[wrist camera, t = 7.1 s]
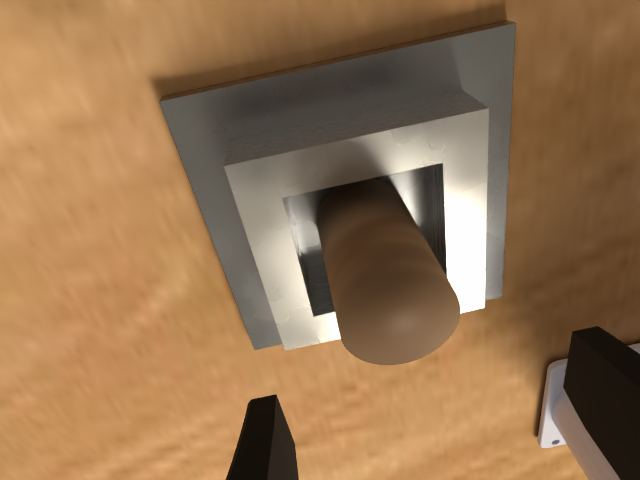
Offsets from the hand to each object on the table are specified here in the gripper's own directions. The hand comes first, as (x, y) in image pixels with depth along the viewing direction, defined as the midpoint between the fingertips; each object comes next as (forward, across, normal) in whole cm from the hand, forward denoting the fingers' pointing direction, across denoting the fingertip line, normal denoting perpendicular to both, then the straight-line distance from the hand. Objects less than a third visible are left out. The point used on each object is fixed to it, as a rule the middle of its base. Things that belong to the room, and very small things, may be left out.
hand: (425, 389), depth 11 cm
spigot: (+8, 0, 0) cm, 8 cm away
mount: (+9, 0, 0) cm, 9 cm away
